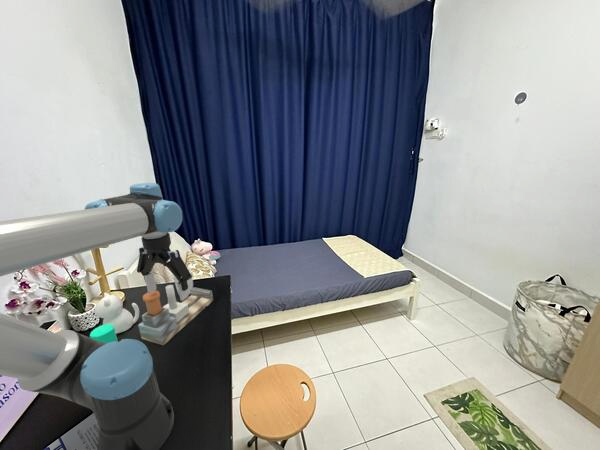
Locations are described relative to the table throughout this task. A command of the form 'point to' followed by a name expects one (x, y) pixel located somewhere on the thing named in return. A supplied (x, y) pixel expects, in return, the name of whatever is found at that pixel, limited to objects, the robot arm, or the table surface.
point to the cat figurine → (115, 313)
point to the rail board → (185, 319)
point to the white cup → (189, 282)
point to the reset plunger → (152, 302)
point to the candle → (104, 333)
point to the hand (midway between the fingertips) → (168, 294)
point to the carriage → (175, 305)
